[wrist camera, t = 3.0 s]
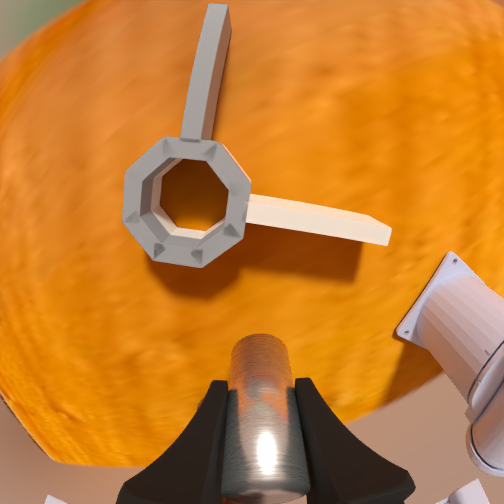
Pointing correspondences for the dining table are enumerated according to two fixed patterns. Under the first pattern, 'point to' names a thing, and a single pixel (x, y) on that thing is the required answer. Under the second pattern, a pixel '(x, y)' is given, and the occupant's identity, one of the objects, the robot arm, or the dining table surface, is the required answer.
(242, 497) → the hinge pin
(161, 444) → the dining table surface
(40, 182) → the dining table surface
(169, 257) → the hinge
